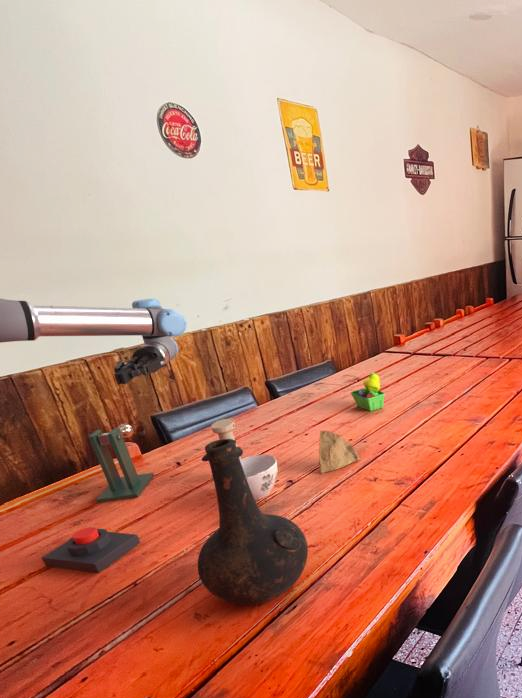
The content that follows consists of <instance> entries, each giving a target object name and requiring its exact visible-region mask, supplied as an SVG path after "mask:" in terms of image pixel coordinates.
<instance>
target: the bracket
mask: <svg viewBox="0 0 522 698" xmlns="http://www.w3.org/2000/svg"><path fill="white" fill-rule="evenodd" d="M108 433H109V434H107V435H108V437H109V440H110V442H111V444H110V445H111V448H112V450H113V453H114V454H115V457H116V460H117V462H118V465H119V467H120V470H121V472H122V474H123V476H121V475H120V473H119V471H118V468H117V466H116V464H115V460H114V458H113V456H112V453H111V451H110V448H109V446H108V445H100V442H99V439H98V435H101V434H103V431H102V429H95V430H94V431H93V432H92V433H91V434H90V435H89V436H88V439H89V442H90V444H91V446H92V448H93V452H94V453H95V456H96V458H97V460H98V463H99V466H100V468H101V471H102V473H103V475H104V477H105V480H106V482H107V484H108V485H107V487H105V489H104V490H103V491H102V492H101V493H100V495H98V496H97V498H96V499H95V502H96V503H97V504H104V503H110V502H111V503H112V502H116V501H124V500H131V499H138V498H139V497H140V496H141V495H142V493H143V492H144V491H145V489H146V488H147V487H148V486H149V484H150V482H151V481H152V480H153V479H154V478H155V474H154V472H149V473H140V474H138V472H137V470H136V468H135V465H134V462H133V460H132V457H131V454H130V452H129V449H128V447H127V444H126V441H125V438H123V436H122V434H121V431H120V429H119V428H117V427H114V428H113V429H112V430H110V431H109V432H108Z"/></svg>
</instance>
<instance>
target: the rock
mask: <svg viewBox="0 0 522 698" xmlns="http://www.w3.org/2000/svg"><path fill="white" fill-rule="evenodd" d="M318 444H319V445H318V448H319V452H318V453H319V454H318V455H319V456H318V463H319V464H318V465H319V472H320V474H321V475H323V474H324V473H327V472H333V471H336V470H339V469H341V468H344V467H346V466H349V465H351V464H352V463H355V462H358V461H360V460H361V458H360V456H359V454H358V452H357V451H356V449H355V448H354V446H353V445H352V444H350V443H349V442H348V441H347V440H346V439H344V437H342V436H341V435H339V434H338V433H335V432H332V431H330V430H320V432H319V443H318Z"/></svg>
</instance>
